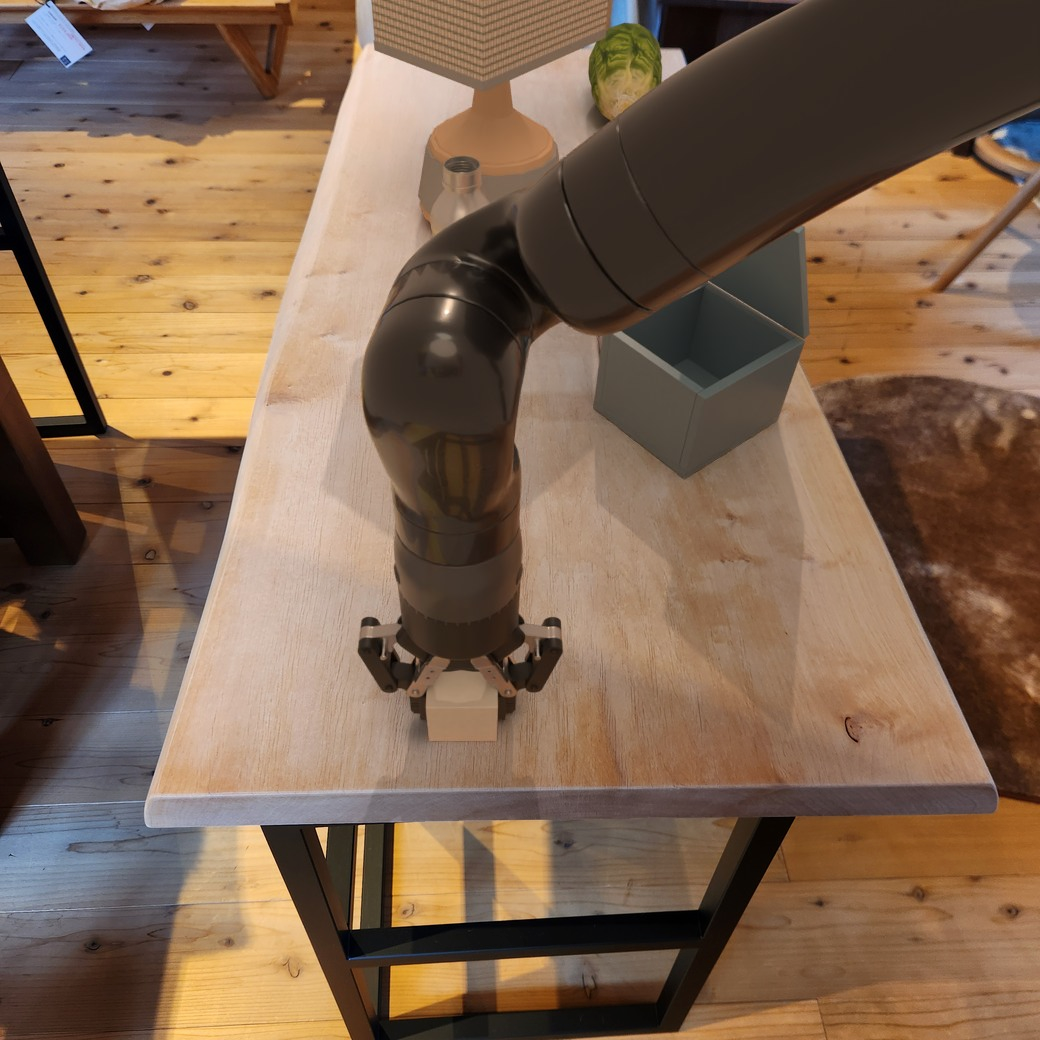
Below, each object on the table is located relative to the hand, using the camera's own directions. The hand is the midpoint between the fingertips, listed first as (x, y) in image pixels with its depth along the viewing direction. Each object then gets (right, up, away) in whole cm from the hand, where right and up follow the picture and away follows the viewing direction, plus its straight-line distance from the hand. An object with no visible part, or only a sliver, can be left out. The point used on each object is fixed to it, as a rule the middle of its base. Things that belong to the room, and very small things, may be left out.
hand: (463, 708), depth 64 cm
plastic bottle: (-2, +34, +31) cm, 46 cm away
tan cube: (0, 0, 0) cm, 0 cm away
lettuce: (+20, +78, +71) cm, 108 cm away
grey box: (+21, +25, +24) cm, 41 cm away
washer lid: (+24, +38, +13) cm, 47 cm away
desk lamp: (0, +54, +49) cm, 73 cm away
